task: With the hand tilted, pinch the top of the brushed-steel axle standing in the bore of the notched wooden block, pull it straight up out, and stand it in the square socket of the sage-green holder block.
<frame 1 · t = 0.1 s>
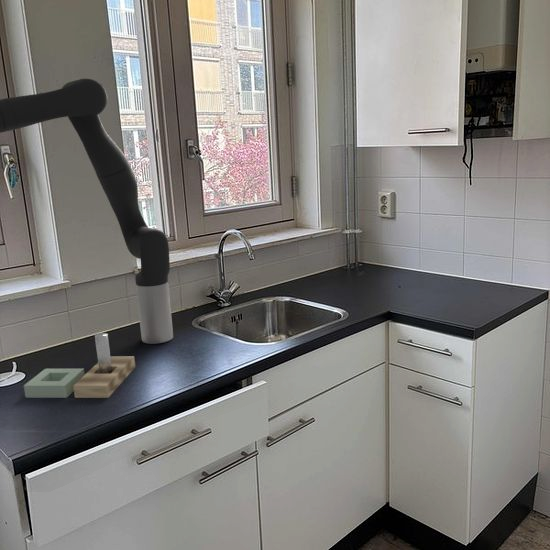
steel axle: (104, 358, 135), in the notched wooden block
holder block: (56, 388, 134), on the worktop
notched wooden block: (107, 381, 137), on the worktop
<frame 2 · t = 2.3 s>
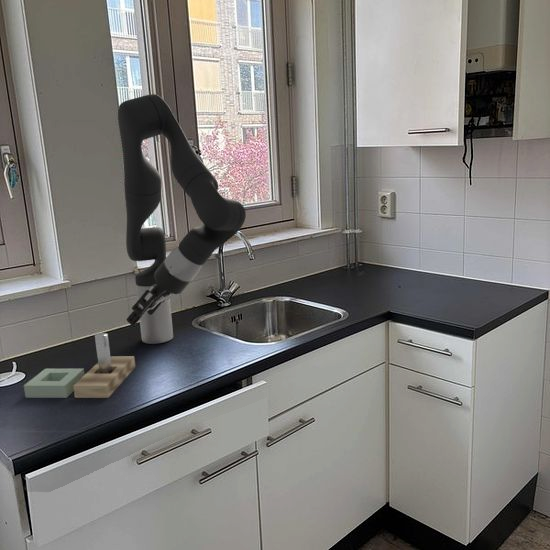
hand: (139, 317, 130), 17 cm above the worktop, tool tilted 45°, fingers open, 8 cm apart
nothing on the worktop moved.
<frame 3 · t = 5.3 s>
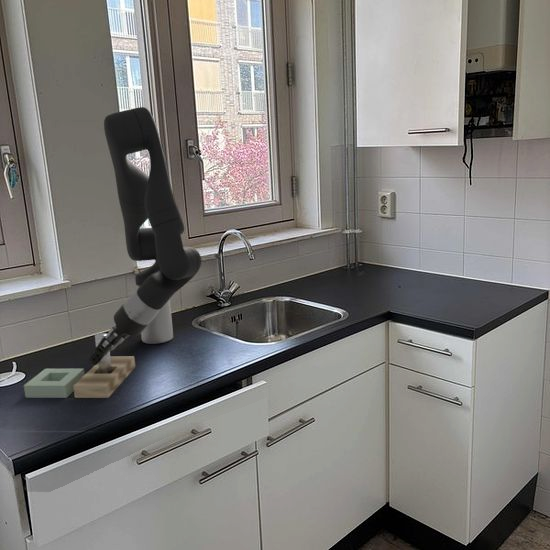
hand: (96, 359, 136), 6 cm above the worktop, tool tilted 45°, fingers closed on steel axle, 3 cm apart
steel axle: (104, 358, 135), in the notched wooden block, touching gripper
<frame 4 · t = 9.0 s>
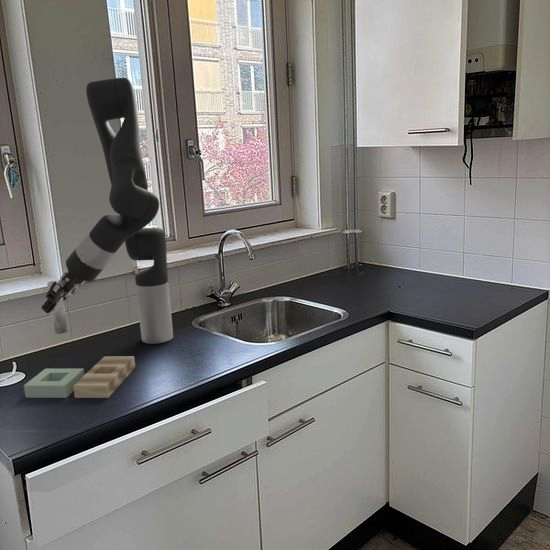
hand: (49, 308, 130), 20 cm above the worktop, tool tilted 45°, fingers closed on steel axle, 3 cm apart
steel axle: (57, 307, 130), point 20 cm above the worktop, touching gripper
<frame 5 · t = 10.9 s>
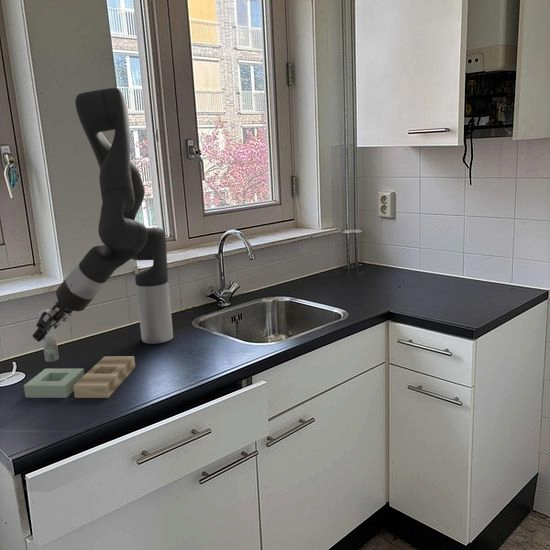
hand: (40, 336, 131), 13 cm above the worktop, tool tilted 45°, fingers closed on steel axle, 3 cm apart
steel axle: (48, 335, 131), point 13 cm above the worktop, touching gripper
when the fingers open (7 cm above the worktop, at t = 12.6 s): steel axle drops 1 cm, resting in holder block.
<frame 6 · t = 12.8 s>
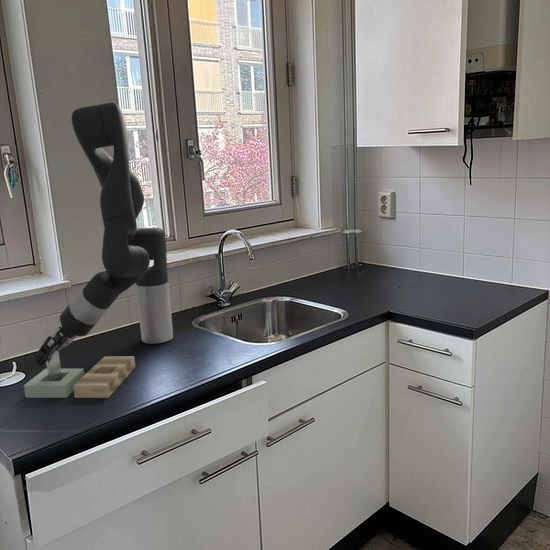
hand: (45, 359, 133), 7 cm above the worktop, tool tilted 45°, fingers open, 5 cm apart
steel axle: (53, 365, 133), in the holder block
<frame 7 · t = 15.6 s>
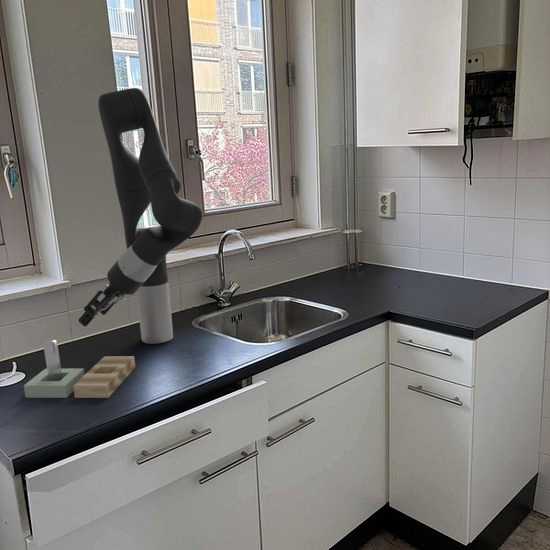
hand: (91, 317, 128), 18 cm above the worktop, tool tilted 45°, fingers open, 8 cm apart
nothing on the worktop moved.
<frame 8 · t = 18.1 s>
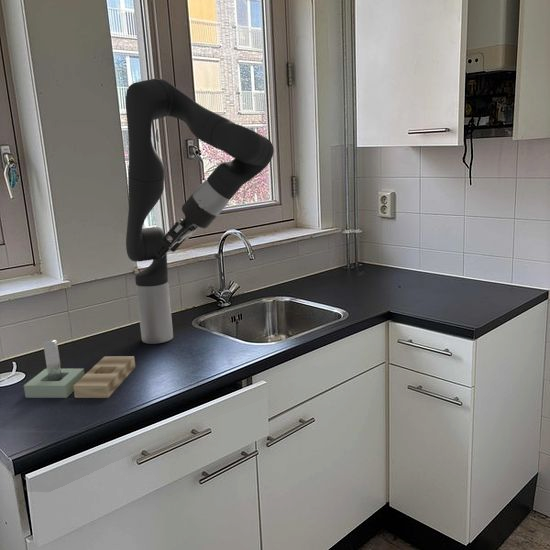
hand: (163, 252, 133), 31 cm above the worktop, tool tilted 45°, fingers open, 8 cm apart
nothing on the worktop moved.
at the end: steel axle 0.1 cm off-centre on the holder block, point 6.0 cm above the holder block's base; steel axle tilted 0°; the gripper is holding nothing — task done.
